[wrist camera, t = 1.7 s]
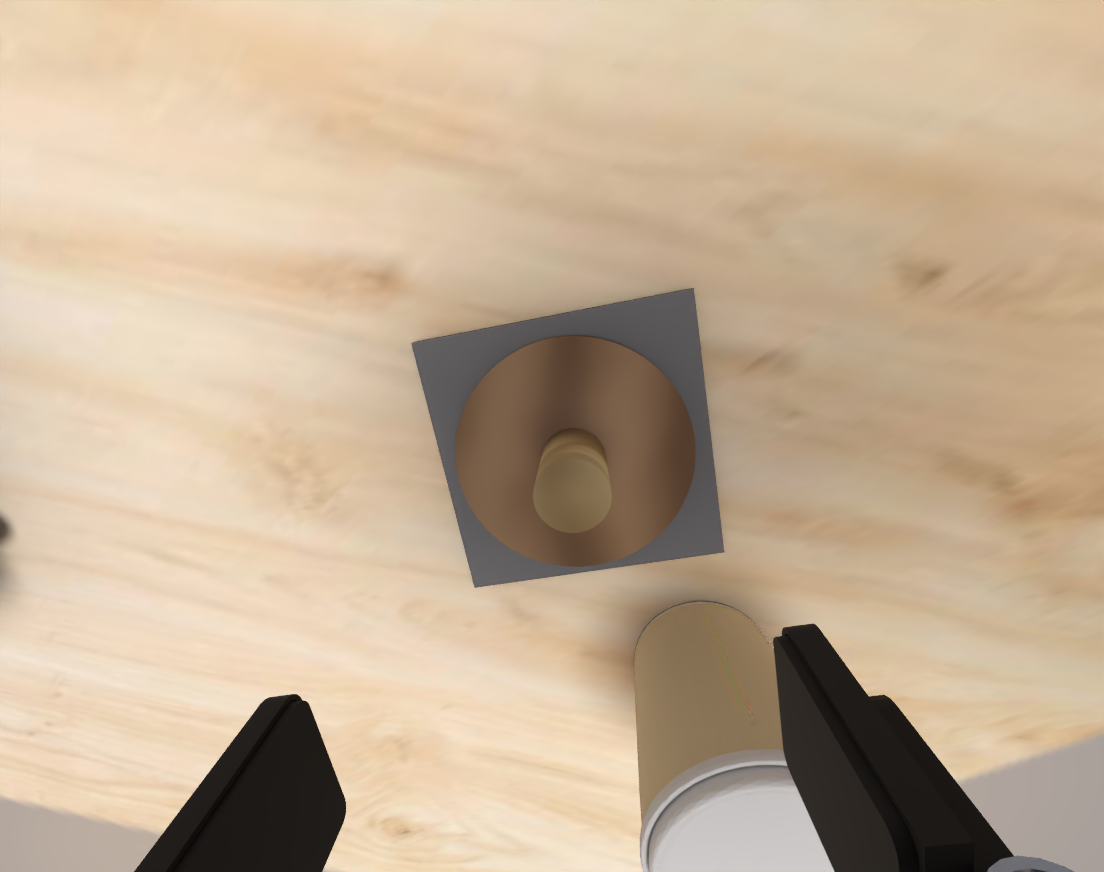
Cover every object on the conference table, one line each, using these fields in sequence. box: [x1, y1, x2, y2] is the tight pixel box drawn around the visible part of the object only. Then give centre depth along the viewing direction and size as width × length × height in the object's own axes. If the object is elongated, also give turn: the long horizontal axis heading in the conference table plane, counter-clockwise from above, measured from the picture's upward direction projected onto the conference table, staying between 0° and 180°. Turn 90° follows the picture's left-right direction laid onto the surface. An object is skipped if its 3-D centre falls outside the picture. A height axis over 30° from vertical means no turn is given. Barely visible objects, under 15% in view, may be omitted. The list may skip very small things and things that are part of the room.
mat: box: [412, 288, 724, 588], centre depth 27 cm, size 14×14×1 cm
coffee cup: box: [634, 601, 834, 872], centre depth 25 cm, size 9×9×12 cm
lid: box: [455, 335, 696, 567], centre depth 24 cm, size 12×12×6 cm
